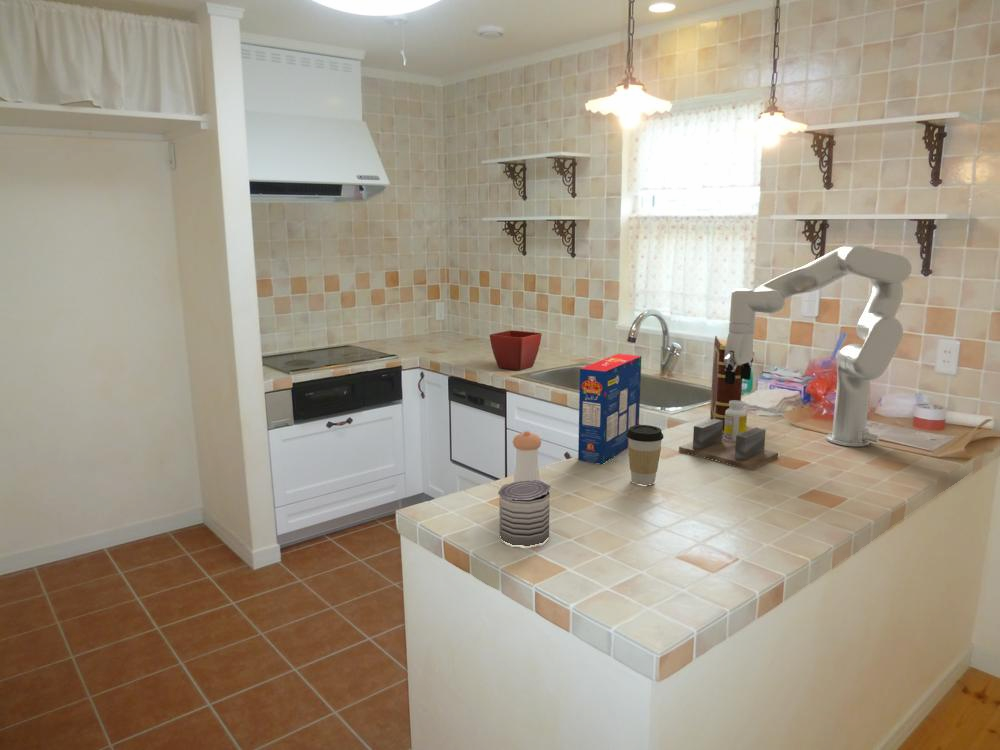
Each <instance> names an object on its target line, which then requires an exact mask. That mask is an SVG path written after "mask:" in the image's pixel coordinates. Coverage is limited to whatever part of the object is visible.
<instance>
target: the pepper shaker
mask: <svg viewBox="0 0 1000 750" xmlns="http://www.w3.org/2000/svg"><path fill="white" fill-rule="evenodd" d="M512 445H513V447H514V448H515V466H514V473H513V482H516V481H519V480H540V481H541V475H540V469H539V448H540V447H541V445H542V440H541V437H540V436H539V435H538V434H535V433H533V432H530V431H529V430H525V431H524V432H522V433H519V434H516V435H515V436H514V437H513V440H512Z"/></svg>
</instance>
